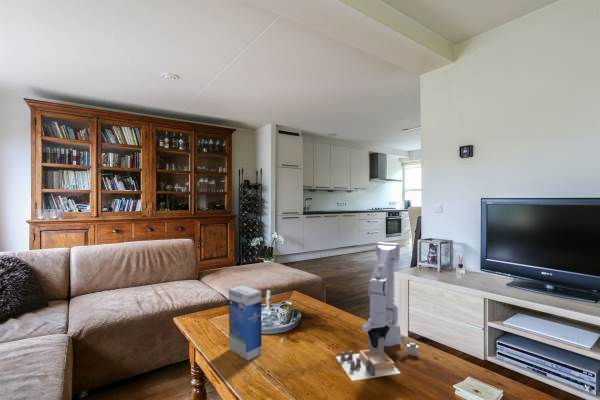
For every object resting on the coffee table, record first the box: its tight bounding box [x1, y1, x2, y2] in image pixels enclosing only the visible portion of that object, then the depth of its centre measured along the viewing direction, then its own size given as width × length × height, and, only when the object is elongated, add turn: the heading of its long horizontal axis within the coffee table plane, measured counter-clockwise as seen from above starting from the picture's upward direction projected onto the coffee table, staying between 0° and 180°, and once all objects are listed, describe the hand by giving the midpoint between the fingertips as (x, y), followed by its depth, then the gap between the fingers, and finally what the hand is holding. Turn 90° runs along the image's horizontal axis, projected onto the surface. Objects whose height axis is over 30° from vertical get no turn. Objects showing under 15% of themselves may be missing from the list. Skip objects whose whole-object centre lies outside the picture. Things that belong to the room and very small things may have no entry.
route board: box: [335, 350, 401, 382], centre depth 114 cm, size 19×16×4 cm
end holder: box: [358, 349, 395, 371], centre depth 116 cm, size 9×11×2 cm
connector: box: [367, 335, 385, 355], centre depth 115 cm, size 3×5×7 cm, turn 35°
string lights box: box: [228, 284, 263, 361], centre depth 124 cm, size 13×8×26 cm, turn 47°
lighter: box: [399, 334, 419, 357], centre depth 122 cm, size 7×2×8 cm, turn 72°
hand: (377, 345), depth 115 cm, fingers closed on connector, 3 cm apart
